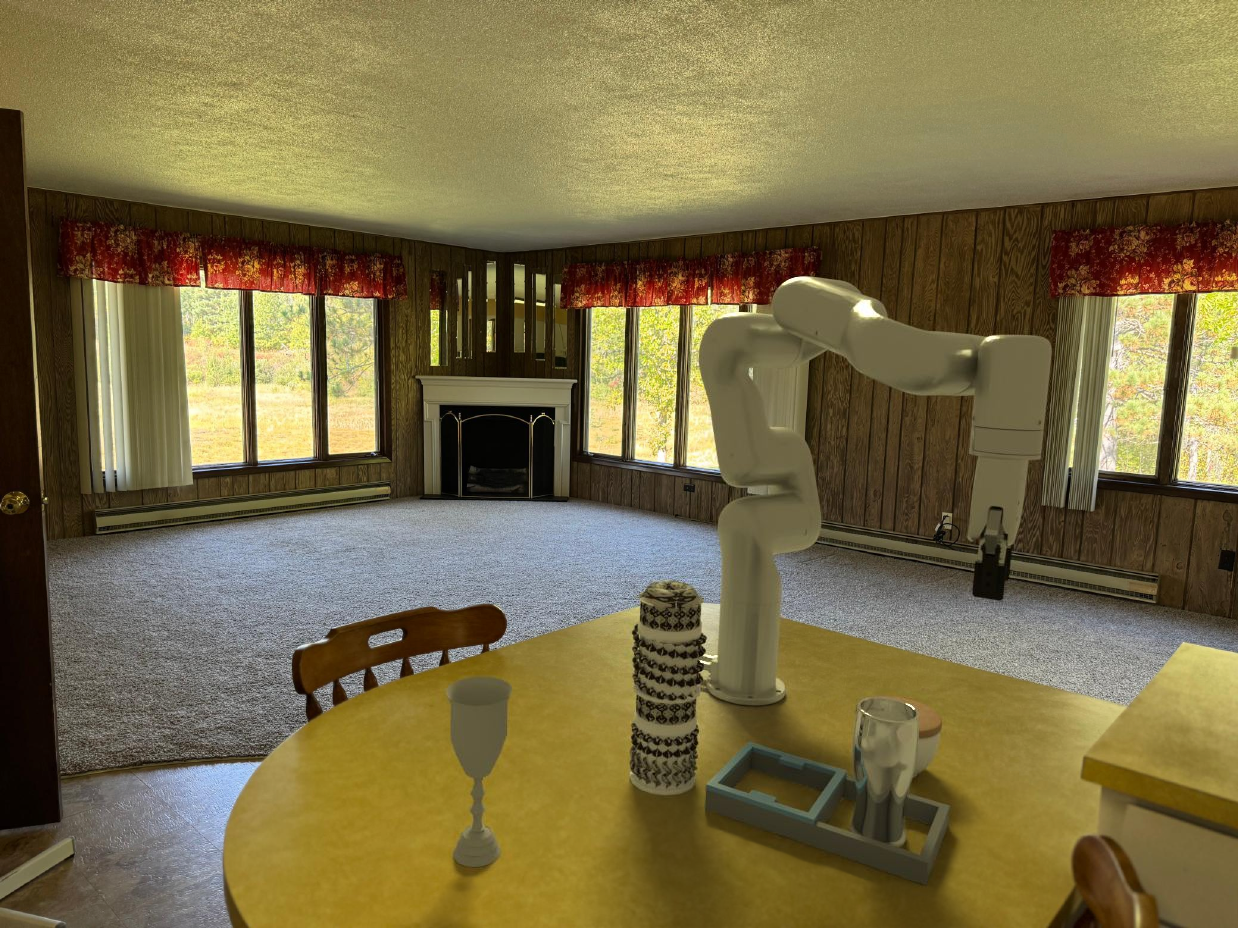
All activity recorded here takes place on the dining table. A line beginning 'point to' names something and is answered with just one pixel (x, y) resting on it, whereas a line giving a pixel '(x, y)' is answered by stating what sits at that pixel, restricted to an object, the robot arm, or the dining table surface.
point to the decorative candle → (666, 688)
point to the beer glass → (883, 767)
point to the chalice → (478, 755)
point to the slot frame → (821, 811)
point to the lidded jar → (924, 733)
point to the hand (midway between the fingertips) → (991, 587)
